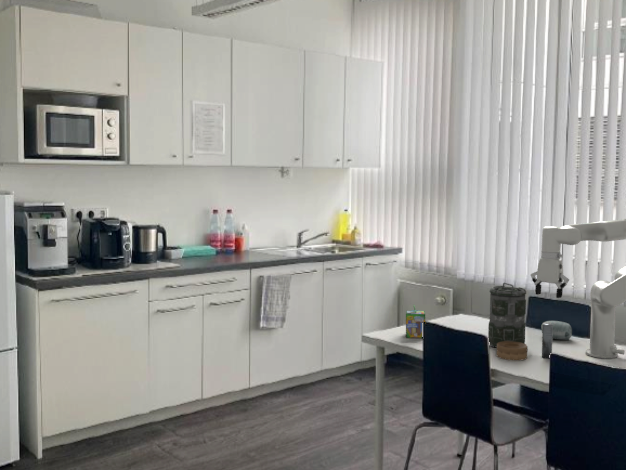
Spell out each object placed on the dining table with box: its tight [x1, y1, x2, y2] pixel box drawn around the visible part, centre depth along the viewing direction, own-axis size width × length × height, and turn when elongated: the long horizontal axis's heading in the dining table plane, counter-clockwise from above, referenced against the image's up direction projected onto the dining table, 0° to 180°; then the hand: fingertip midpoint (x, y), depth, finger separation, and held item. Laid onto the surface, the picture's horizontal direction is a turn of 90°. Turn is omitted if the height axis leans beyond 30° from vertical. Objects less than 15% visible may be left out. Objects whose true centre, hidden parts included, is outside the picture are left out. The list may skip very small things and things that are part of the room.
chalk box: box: [405, 304, 426, 339], centre depth 331 cm, size 9×9×15 cm
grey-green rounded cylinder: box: [540, 320, 573, 341], centre depth 327 cm, size 14×10×10 cm
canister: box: [487, 282, 527, 349], centre depth 313 cm, size 16×16×28 cm
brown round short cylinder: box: [496, 341, 528, 361], centre depth 296 cm, size 12×12×5 cm
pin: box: [541, 322, 553, 360], centre depth 294 cm, size 4×4×14 cm
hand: (548, 295), depth 298 cm, fingers open, 9 cm apart
